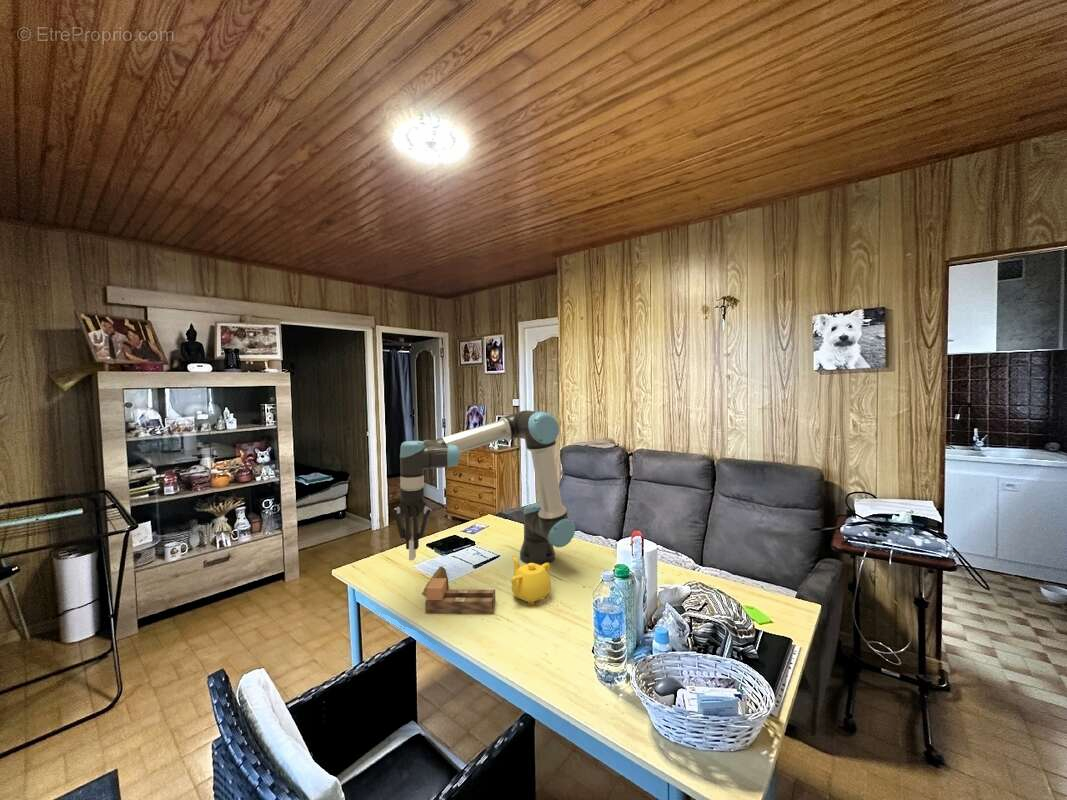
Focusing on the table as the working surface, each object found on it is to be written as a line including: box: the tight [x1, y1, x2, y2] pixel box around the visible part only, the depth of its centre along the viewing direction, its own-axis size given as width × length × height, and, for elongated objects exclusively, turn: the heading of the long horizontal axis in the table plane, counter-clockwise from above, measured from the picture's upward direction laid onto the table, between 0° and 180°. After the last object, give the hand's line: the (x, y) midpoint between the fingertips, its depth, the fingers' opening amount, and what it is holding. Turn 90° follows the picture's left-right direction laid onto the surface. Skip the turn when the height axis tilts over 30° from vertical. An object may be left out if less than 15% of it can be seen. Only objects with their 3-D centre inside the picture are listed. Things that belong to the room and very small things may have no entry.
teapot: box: [510, 556, 552, 606], centre depth 147 cm, size 14×14×12 cm
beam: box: [424, 588, 496, 615], centre depth 140 cm, size 22×9×4 cm, turn 90°
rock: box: [421, 566, 450, 597], centre depth 146 cm, size 11×9×10 cm
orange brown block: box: [426, 577, 446, 600], centre depth 139 cm, size 5×7×7 cm
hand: (412, 558), depth 139 cm, fingers closed
